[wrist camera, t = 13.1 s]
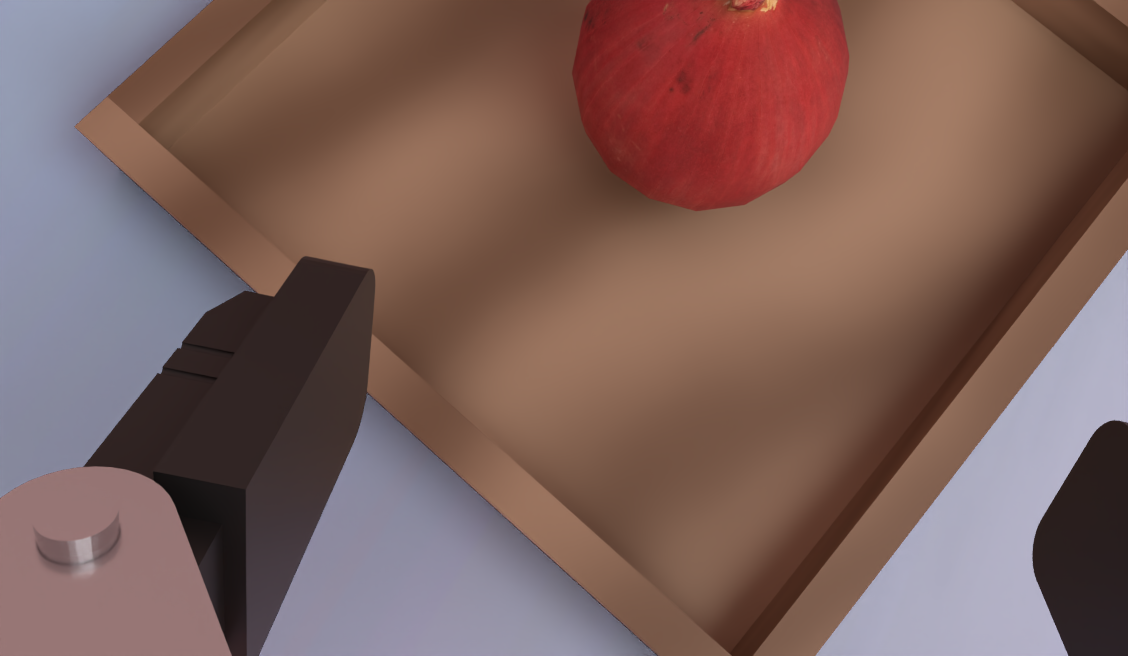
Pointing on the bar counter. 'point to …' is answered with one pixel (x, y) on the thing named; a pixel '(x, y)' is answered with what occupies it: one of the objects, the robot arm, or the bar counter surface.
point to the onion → (709, 93)
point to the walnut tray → (663, 274)
